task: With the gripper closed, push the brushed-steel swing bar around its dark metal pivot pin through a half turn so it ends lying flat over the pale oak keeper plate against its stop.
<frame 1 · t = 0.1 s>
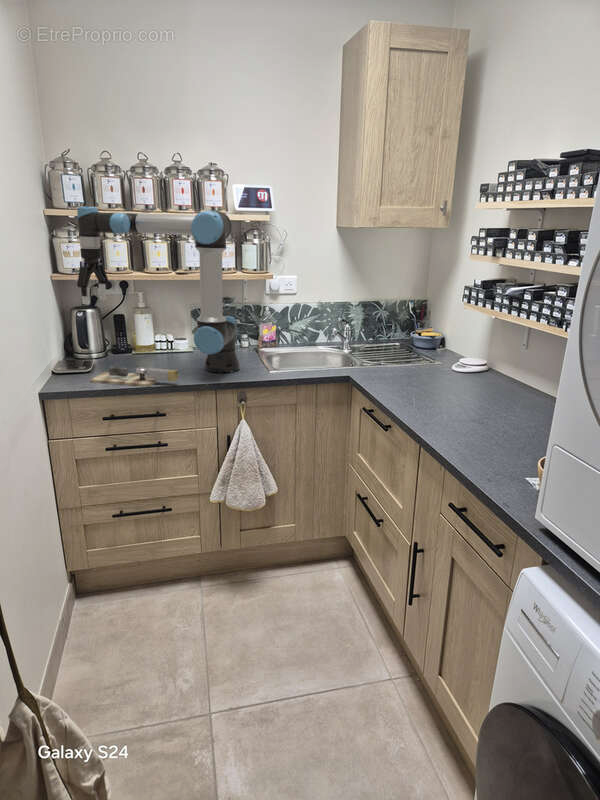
hand: (95, 302, 221), 28 cm above the countertop, tool pointing down, fingers open, 13 cm apart
keeper plate: (114, 379, 215), on the countertop
jamb plate: (142, 382, 212), on the countertop
swing bar: (156, 374, 211), point 4 cm above the countertop, hinge at 0.0°
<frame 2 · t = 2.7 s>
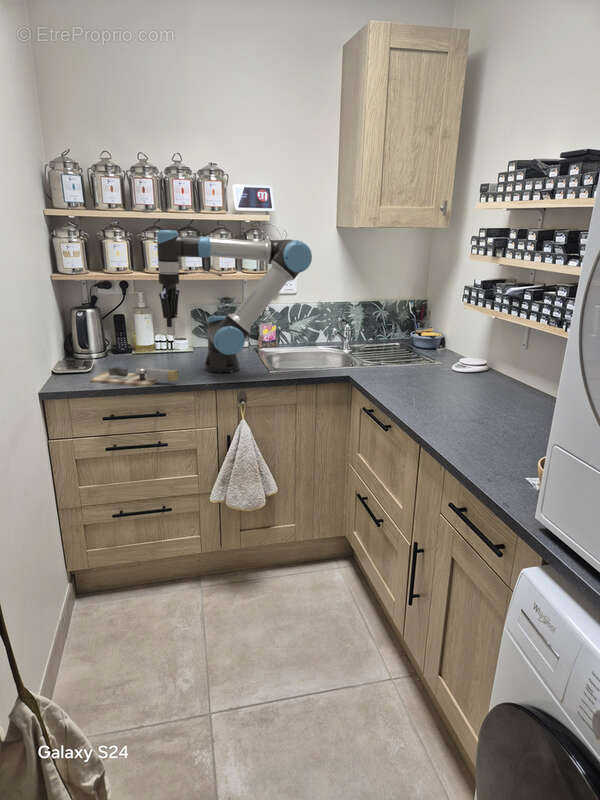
hand: (171, 334, 212), 18 cm above the countertop, tool pointing down, fingers closed
nothing on the countertop moved.
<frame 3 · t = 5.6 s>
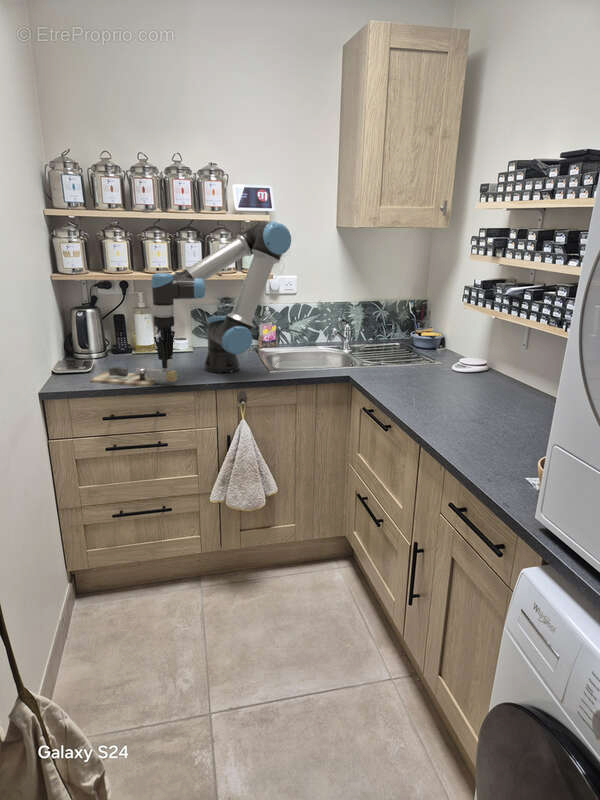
hand: (166, 375, 211), 3 cm above the countertop, tool pointing down, fingers closed
swing bar: (155, 374, 210), point 4 cm above the countertop, hinge at 5.5°, touching gripper
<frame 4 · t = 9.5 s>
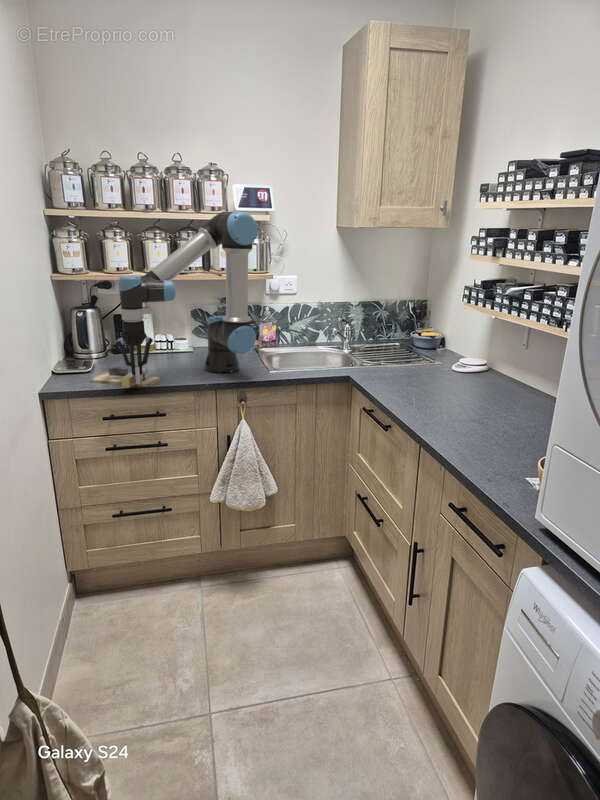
hand: (137, 383, 202), 3 cm above the countertop, tool pointing down, fingers closed
swing bar: (135, 376, 206), point 4 cm above the countertop, hinge at 91.1°, touching gripper
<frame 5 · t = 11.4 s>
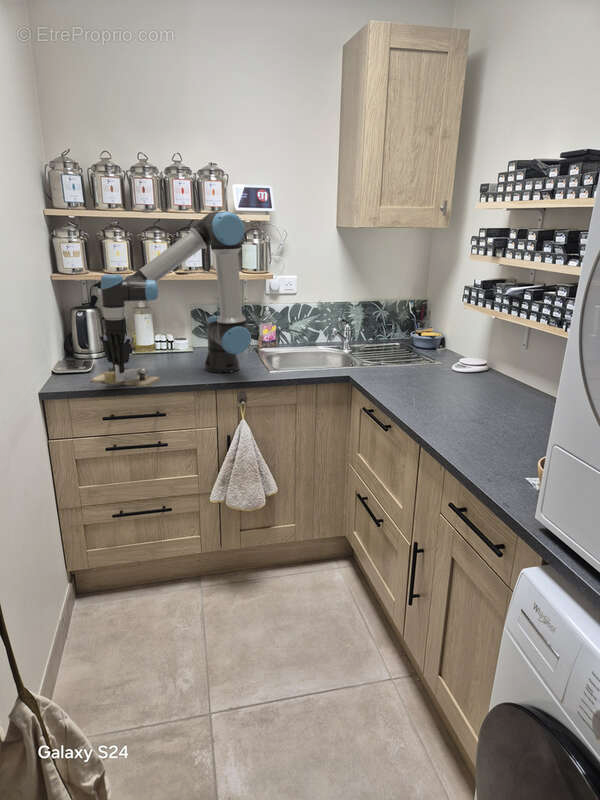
hand: (119, 380, 204), 3 cm above the countertop, tool pointing down, fingers closed
swing bar: (127, 375, 208), point 4 cm above the countertop, hinge at 134.2°, touching gripper
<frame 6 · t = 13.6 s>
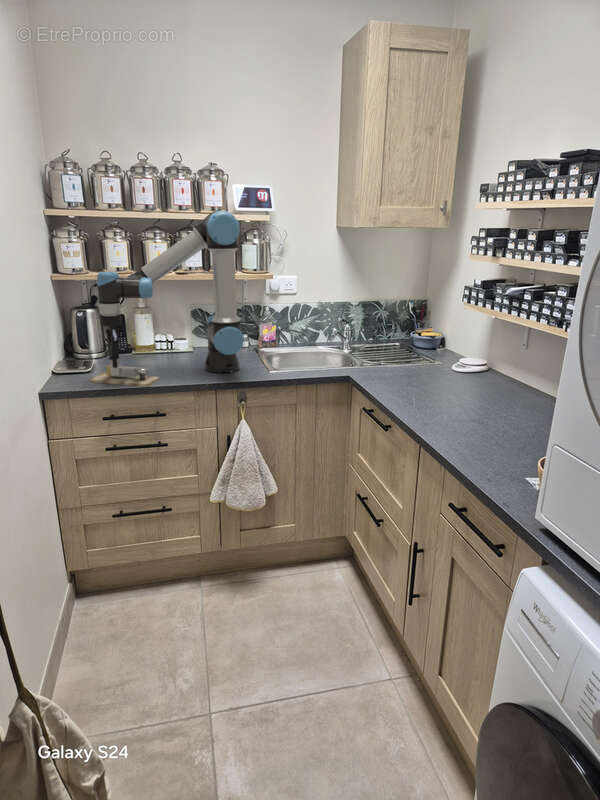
hand: (115, 375, 210), 3 cm above the countertop, tool pointing down, fingers closed
swing bar: (127, 371, 212), point 4 cm above the countertop, hinge at 180.2°, touching gripper
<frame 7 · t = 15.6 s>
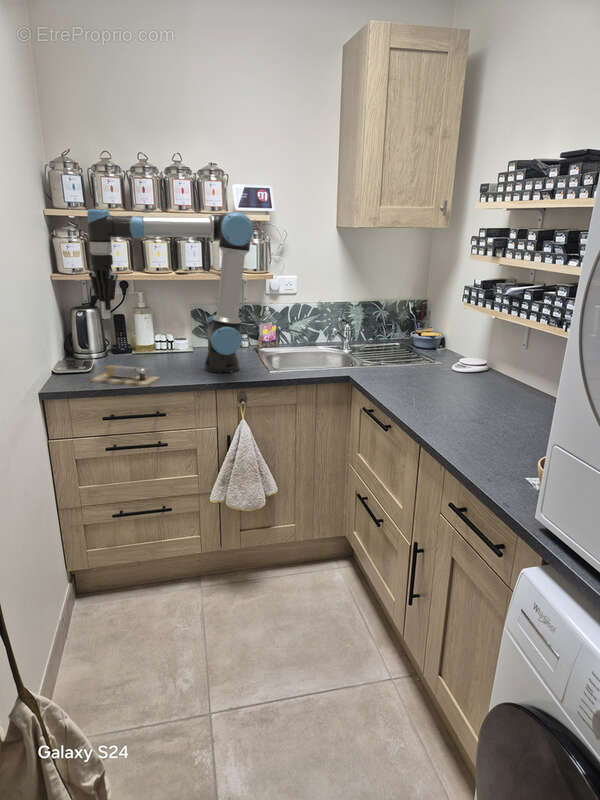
hand: (106, 318, 205), 25 cm above the countertop, tool pointing down, fingers closed
swing bar: (127, 371, 212), point 4 cm above the countertop, hinge at 180.2°
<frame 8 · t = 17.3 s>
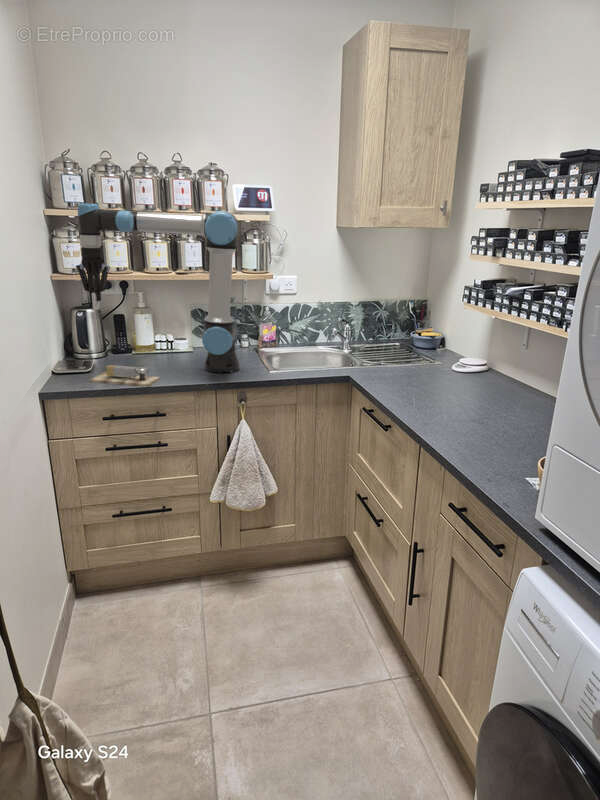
hand: (96, 309, 212), 26 cm above the countertop, tool pointing down, fingers closed
nothing on the countertop moved.
at the end: swing bar at +180° (first picture: +0°); the gripper is holding nothing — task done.
